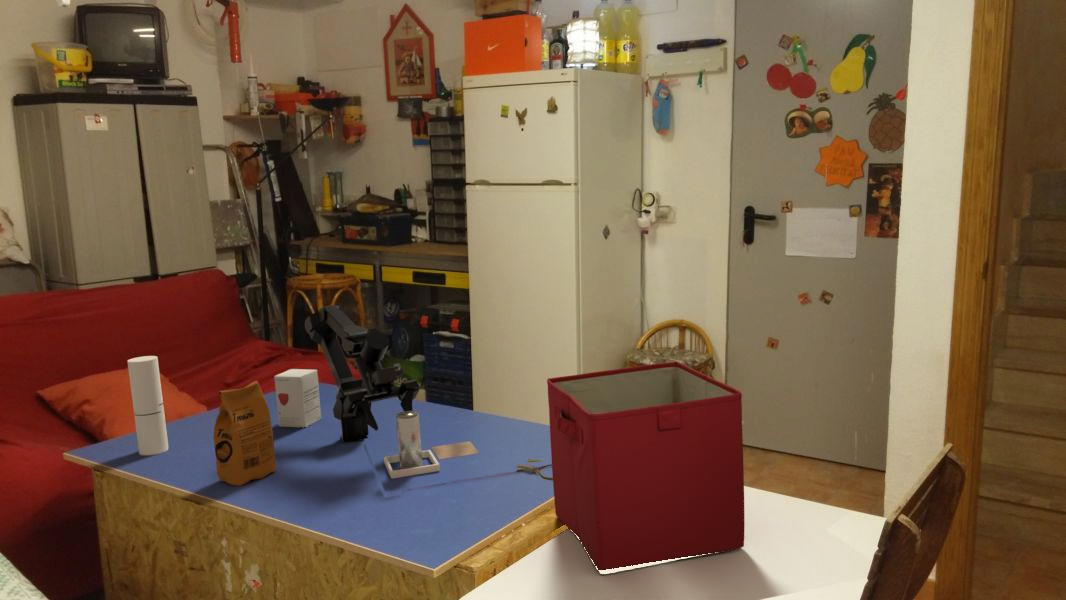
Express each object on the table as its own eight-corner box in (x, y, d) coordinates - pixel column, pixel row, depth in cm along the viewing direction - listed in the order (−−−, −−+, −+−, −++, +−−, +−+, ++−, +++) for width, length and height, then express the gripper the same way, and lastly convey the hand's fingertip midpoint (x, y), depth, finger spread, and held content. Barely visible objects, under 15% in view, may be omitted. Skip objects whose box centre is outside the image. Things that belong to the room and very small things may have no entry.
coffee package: (211, 481, 194) (201, 390, 191) (256, 464, 204) (247, 378, 201) (236, 488, 189) (226, 395, 185) (282, 471, 198) (273, 382, 195)
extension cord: (547, 457, 200) (547, 449, 200) (598, 471, 189) (597, 463, 189) (512, 472, 191) (511, 464, 191) (562, 487, 181) (562, 479, 180)
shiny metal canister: (397, 471, 192) (393, 417, 190) (403, 463, 197) (399, 410, 195) (419, 471, 192) (415, 417, 190) (424, 463, 197) (420, 410, 195)
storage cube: (589, 581, 138) (581, 414, 133) (543, 518, 164) (536, 376, 160) (761, 549, 146) (759, 391, 142) (691, 494, 172) (688, 358, 168)
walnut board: (439, 463, 198) (439, 459, 198) (431, 450, 208) (431, 447, 208) (479, 457, 201) (479, 453, 201) (469, 445, 211) (469, 441, 211)
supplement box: (277, 427, 235) (272, 375, 233) (295, 417, 244) (290, 368, 242) (305, 428, 233) (300, 376, 231) (322, 418, 241) (317, 368, 239)
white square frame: (391, 482, 187) (390, 472, 187) (384, 466, 198) (383, 456, 198) (440, 474, 191) (439, 464, 190) (430, 459, 201) (430, 449, 201)
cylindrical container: (173, 446, 223) (162, 355, 219) (159, 455, 215) (147, 361, 212) (148, 446, 223) (137, 356, 219) (133, 455, 216) (121, 362, 212)
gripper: (343, 360, 195) (366, 416, 188) (414, 348, 206) (438, 399, 199) (333, 386, 203) (355, 440, 196) (402, 373, 214) (425, 423, 206)
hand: (394, 425), depth 199 cm, fingers open, 9 cm apart
